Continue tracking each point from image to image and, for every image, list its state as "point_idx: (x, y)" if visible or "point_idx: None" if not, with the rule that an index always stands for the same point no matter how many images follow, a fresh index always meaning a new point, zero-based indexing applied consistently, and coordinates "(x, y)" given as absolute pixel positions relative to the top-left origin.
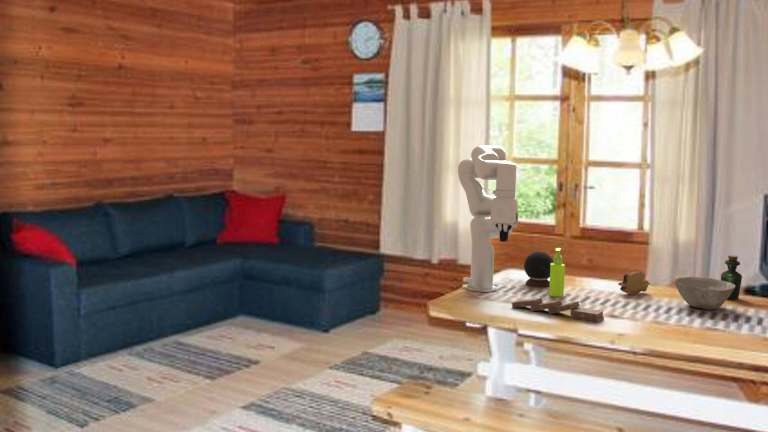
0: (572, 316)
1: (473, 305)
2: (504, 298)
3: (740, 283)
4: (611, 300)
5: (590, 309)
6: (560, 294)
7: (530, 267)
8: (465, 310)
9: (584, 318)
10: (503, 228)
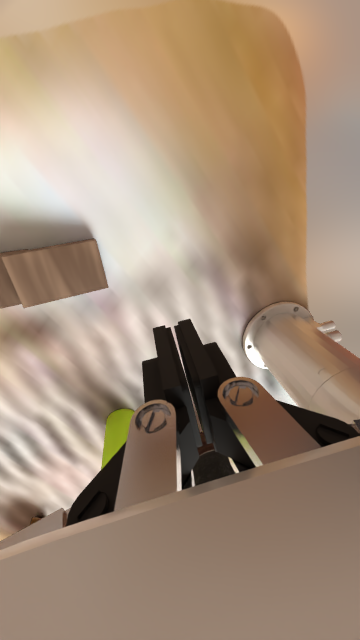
0: None
1: (190, 161)
2: (182, 308)
3: None
4: (18, 472)
5: None
6: (106, 422)
7: (224, 468)
8: (164, 63)
9: None
10: (232, 459)
